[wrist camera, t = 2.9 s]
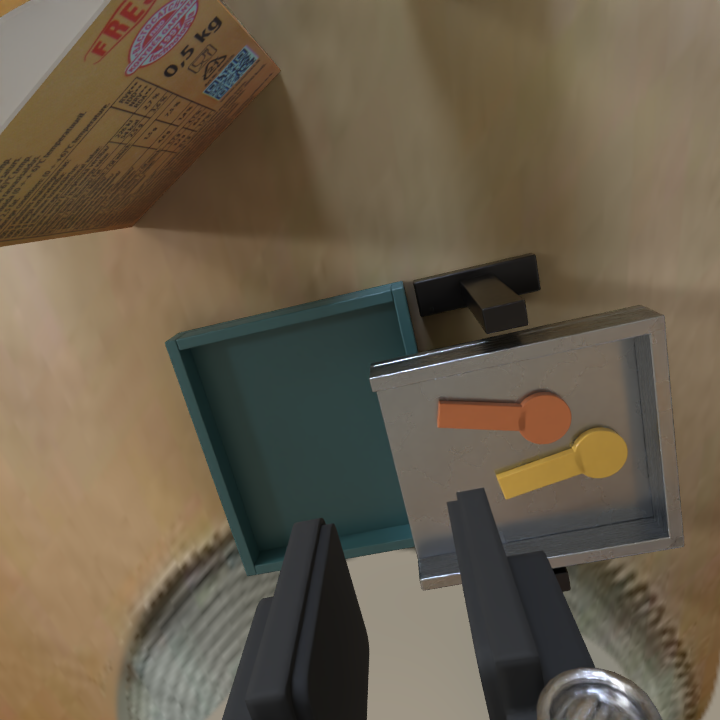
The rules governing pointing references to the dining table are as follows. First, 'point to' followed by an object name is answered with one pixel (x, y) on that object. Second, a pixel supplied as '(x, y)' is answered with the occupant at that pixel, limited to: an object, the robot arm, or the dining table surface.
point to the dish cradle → (486, 304)
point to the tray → (300, 421)
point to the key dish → (511, 450)
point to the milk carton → (112, 106)
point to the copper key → (511, 416)
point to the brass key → (569, 463)
